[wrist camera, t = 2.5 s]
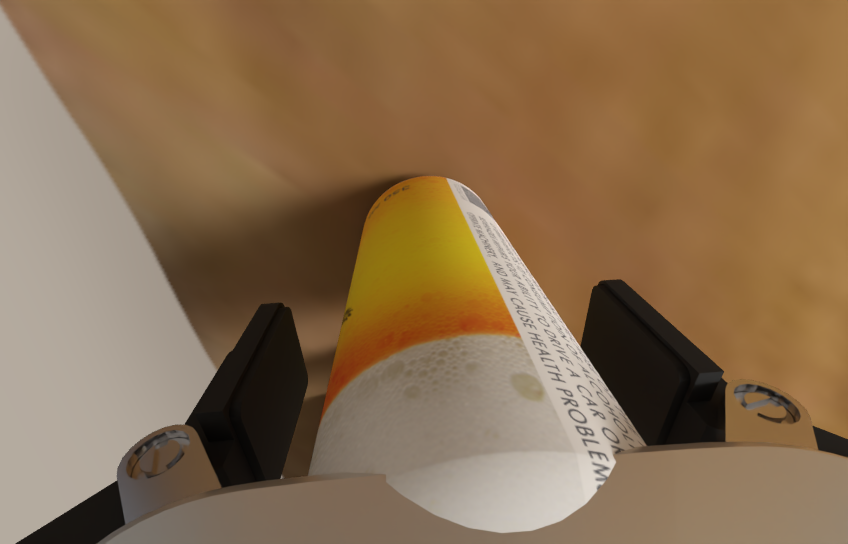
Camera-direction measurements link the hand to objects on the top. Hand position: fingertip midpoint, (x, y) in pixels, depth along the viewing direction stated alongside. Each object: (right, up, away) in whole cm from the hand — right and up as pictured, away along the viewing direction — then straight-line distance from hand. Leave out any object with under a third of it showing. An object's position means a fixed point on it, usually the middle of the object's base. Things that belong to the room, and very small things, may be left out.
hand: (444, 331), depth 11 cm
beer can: (0, +4, +7) cm, 8 cm away
